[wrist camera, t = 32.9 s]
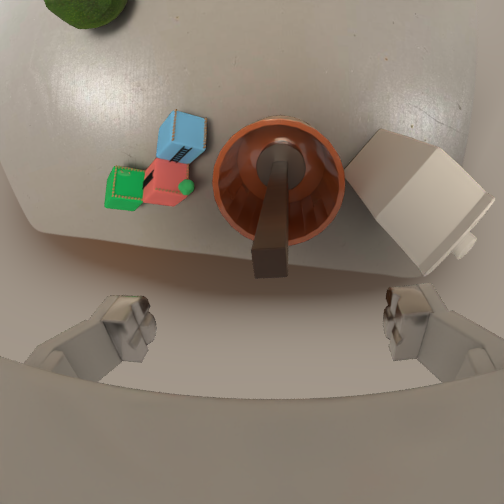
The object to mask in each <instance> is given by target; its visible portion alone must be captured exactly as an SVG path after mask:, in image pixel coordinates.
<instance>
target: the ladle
mask: <svg viewBox="0 0 504 504" xmlns="http://www.w3.org/2000/svg"><path fill="white" fill-rule="evenodd" d="M256 170H257V175H258V177H259V179H260V180H261V182H262V183H263V184H264V185H265V186H266V187H267V190H266V194H265V198H264V202H263V205H262V209H261V213H260V217H259V221H258V225H257V229H256V233H255V237H254V241H253V245H252V249H251V253H252V260H253V267H254V275H255V278H257V279H258V278H279V277H287V276H288V190H291V189H293V188H295V187H296V186H297V185H298V184H299V183H300V182H301V181H302V179H303V177H304V175H305V170H306V166H305V161H304V158H303V155H302V153H301V151H300V150H299V148H298V147H297V146H295V145H294V144H292V143H290V142H288V141H275V142H272V143H270V144H268V145H267V146H266V147H265V148H264V149H263V150H262V152H261V153H260V155H259V157H258V160H257V163H256Z"/></svg>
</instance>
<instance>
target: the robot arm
mask: <svg viewBox="0 0 504 504" xmlns="http://www.w3.org/2000/svg"><path fill="white" fill-rule="evenodd" d="M386 300H387V303H388V306H387V307H386V308H385V309H384V316H383V327H384V332H385V336H386V338H388V339H389V340H390V344H389V349H390V352H391V356H392V359H393V361H398V360H407V359H417V358H418V359H417V360H418V361H419V362H420V363H422V364H423V365H424V366H425V367H426V368H427V369H428V370H429V371H430V372H431V373H432V374H434V375H435V376H436V377H437V378H438V379H439V380H440V381H441V382H442V383H440V384H435V385H429V386H424V387H418V388H412V389H405V390H399V391H392V392H384V393H377V394H367V395H357V396H346V397H330V398H310V399H236V398H216V397H202V396H190V395H179V394H169V393H161V392H154V391H146V390H139V389H132V388H126V387H120V386H114V385H109V384H104V383H99V382H98V381H99V380H101V379H102V378H103V377H104V376H105V375H107V374H108V373H109V372H110V371H111V370H113V369H114V368H115V367H116V366H118V365H119V364H120V363H121V362H122V361H129V362H142V361H143V359H144V357H145V355H146V353H147V352H148V347H147V345H148V344H150V343H151V342H152V341H153V340H154V338H155V336H156V329H157V327H156V321H155V318H154V316H153V315H152V314H151V313H150V312H149V308H150V304H149V302H148V299H147V298H146V297H144V296H123V295H122V296H120V295H110V296H107V298H106V299H105V300H104V301H103V302H102V304H101V305H100V306H99V307H98V309H97V310H96V311H95V312H94V313H93V315H92V316H91V317H90V319H89V320H84V321H82V322H80V323H79V324H77V325H75V326H73V327H71V328H69V329H68V330H66V331H64V332H62V333H60V334H58V335H56V336H55V337H53V338H51V339H49V340H47V341H45V342H44V343H42V344H40V345H38V346H37V347H36V348H35V350H34V351H33V352H32V354H31V355H30V356H29V357H28V359H27V360H26V361H25V362H24V364H23V363H20V362H16V361H13V360H10V359H7V358H4V357H1V356H0V504H504V339H503V338H501V337H499V336H497V335H496V334H494V333H492V332H490V331H488V330H487V329H485V328H483V327H482V326H480V325H478V324H476V323H474V322H473V321H471V320H469V319H467V318H465V317H464V316H462V315H460V314H458V313H456V312H455V311H449V310H448V309H447V307H446V305H445V304H444V302H443V301H442V299H441V297H440V296H439V294H438V293H437V291H436V289H435V288H434V286H433V285H432V284H431V283H423V284H416V285H408V286H399V287H389V288H388V290H387V293H386Z"/></svg>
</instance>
